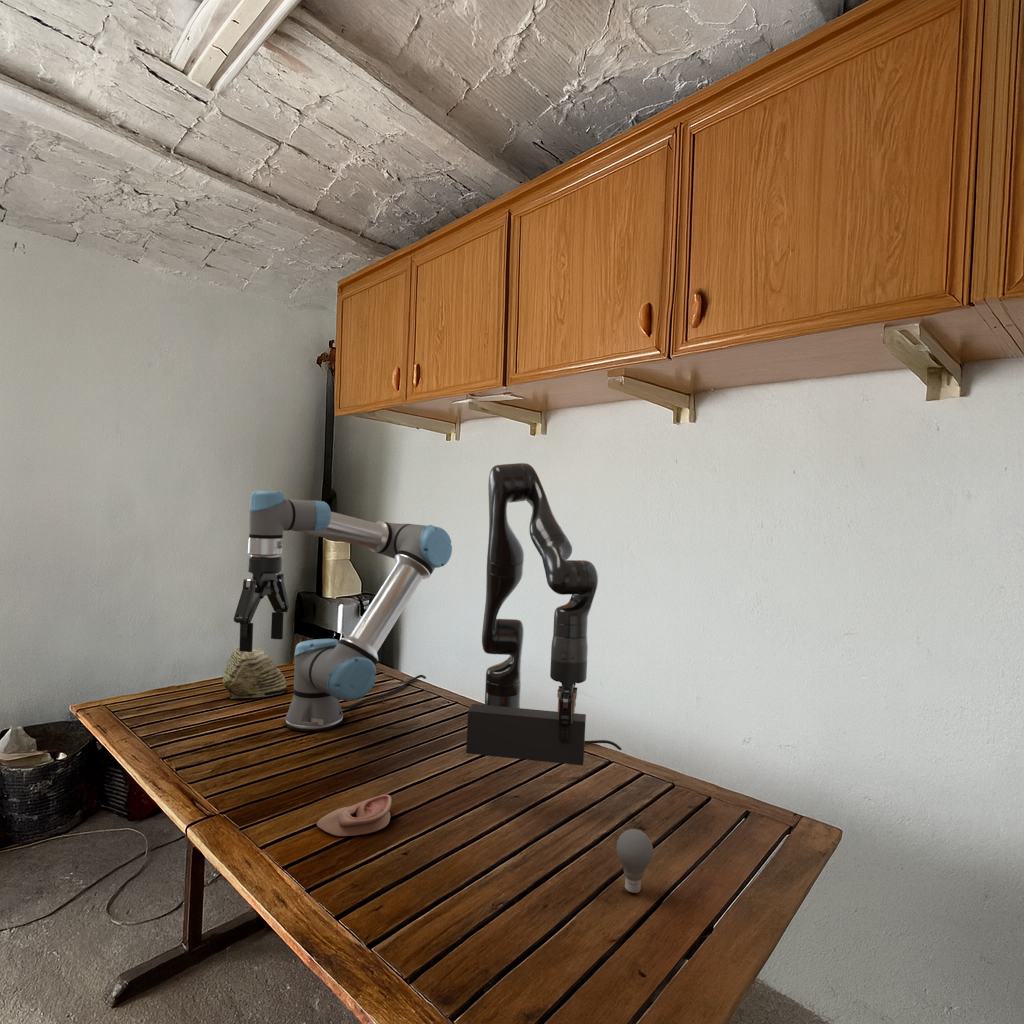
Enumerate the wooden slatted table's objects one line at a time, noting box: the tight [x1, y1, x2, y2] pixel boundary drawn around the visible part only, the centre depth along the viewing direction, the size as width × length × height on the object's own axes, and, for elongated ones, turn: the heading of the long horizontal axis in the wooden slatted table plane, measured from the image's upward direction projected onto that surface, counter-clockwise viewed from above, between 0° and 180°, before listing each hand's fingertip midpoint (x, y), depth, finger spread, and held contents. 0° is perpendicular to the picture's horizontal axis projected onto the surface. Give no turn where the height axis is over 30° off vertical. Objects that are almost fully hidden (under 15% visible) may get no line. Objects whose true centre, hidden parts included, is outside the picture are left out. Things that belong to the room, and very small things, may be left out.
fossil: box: [222, 646, 288, 699], centre depth 198 cm, size 9×18×15 cm, turn 132°
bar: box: [465, 703, 587, 767], centre depth 132 cm, size 24×5×9 cm, turn 82°
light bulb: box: [615, 828, 654, 894], centre depth 106 cm, size 6×6×10 cm
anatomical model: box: [316, 794, 393, 837], centre depth 124 cm, size 13×4×12 cm
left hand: (261, 645), depth 150 cm, fingers open, 13 cm apart
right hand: (565, 737), depth 131 cm, fingers closed on bar, 4 cm apart
